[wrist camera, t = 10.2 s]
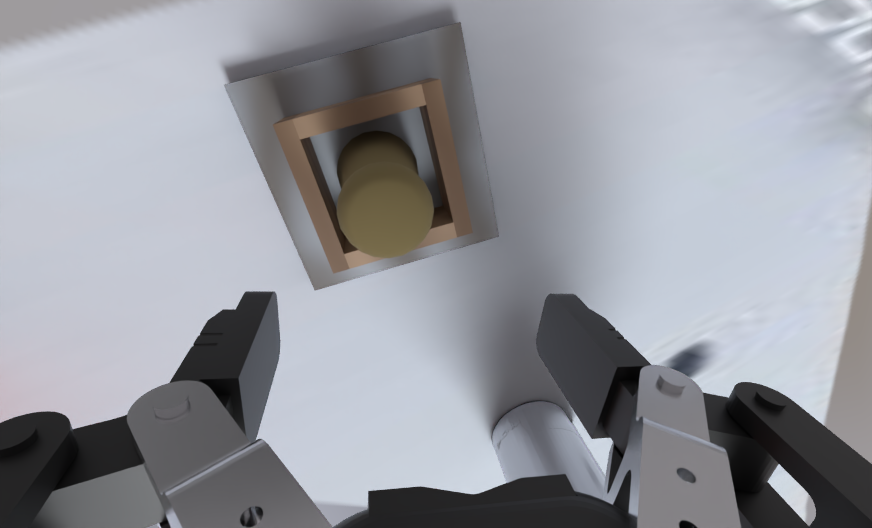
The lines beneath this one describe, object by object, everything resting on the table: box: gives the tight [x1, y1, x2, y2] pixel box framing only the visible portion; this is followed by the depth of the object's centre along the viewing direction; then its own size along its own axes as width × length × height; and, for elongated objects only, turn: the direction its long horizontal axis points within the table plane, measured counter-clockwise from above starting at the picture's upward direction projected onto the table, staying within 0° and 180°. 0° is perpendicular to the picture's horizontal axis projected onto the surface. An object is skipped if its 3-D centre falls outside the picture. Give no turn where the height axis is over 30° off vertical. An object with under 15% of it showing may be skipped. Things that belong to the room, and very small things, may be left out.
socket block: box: [224, 22, 499, 290], centre depth 29 cm, size 16×16×6 cm
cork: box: [337, 130, 434, 258], centre depth 25 cm, size 6×6×11 cm
